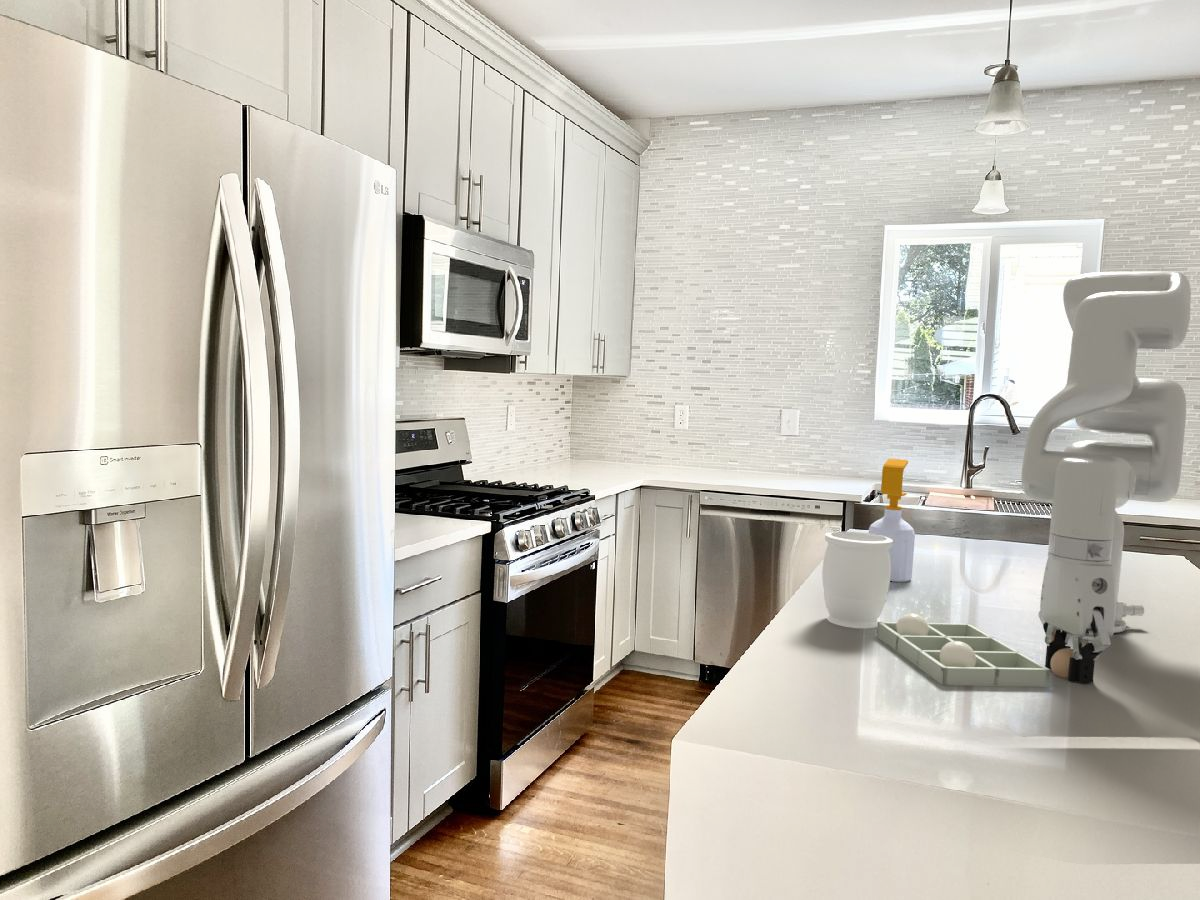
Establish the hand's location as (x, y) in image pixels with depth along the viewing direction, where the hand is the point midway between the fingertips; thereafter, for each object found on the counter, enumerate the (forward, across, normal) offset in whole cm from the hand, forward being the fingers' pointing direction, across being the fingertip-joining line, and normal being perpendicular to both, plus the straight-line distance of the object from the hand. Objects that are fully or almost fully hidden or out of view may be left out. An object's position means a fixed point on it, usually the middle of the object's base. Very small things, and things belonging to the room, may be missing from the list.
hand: (1067, 679), depth 122 cm
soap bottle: (+1, +63, -1) cm, 63 cm away
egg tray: (0, +6, +13) cm, 14 cm away
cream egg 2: (-1, -1, +16) cm, 17 cm away
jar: (+1, +25, +21) cm, 33 cm away
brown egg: (0, 0, 0) cm, 0 cm away
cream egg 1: (-1, +13, +16) cm, 21 cm away
